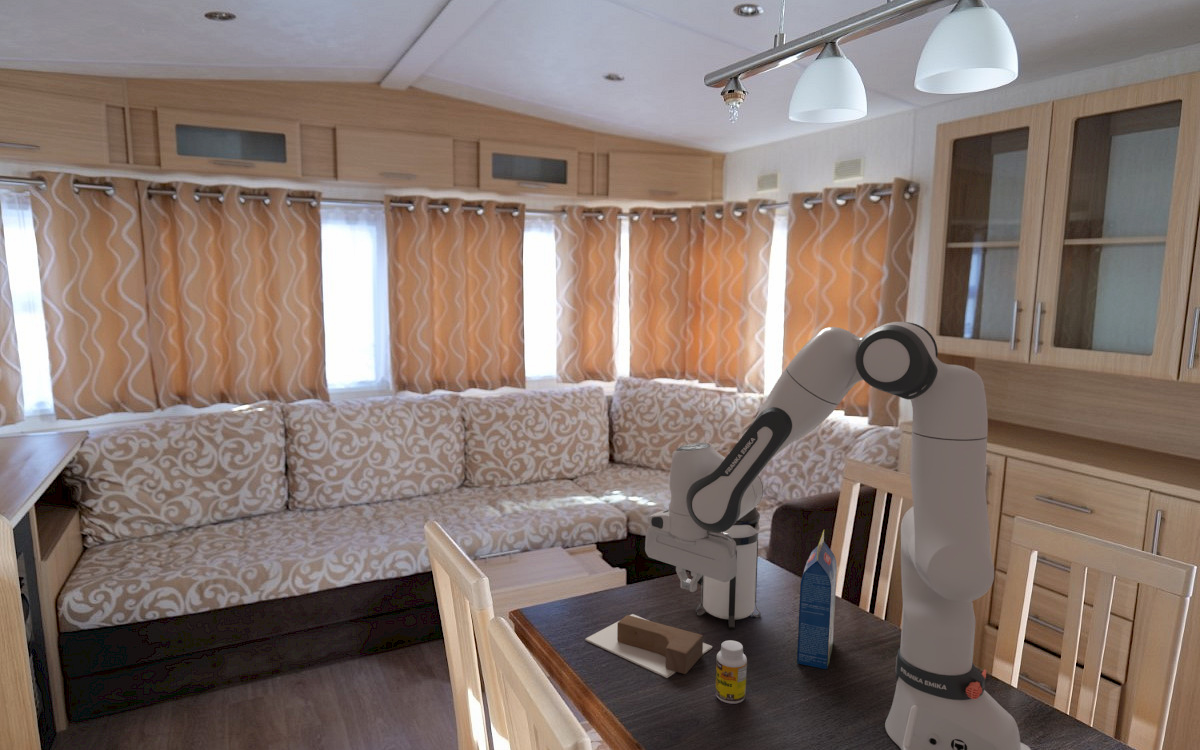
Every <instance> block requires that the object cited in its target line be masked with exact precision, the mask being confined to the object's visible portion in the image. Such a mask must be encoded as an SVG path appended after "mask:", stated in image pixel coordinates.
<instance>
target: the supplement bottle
mask: <svg viewBox="0 0 1200 750" xmlns="http://www.w3.org/2000/svg"><path fill="white" fill-rule="evenodd" d="M720 646H721V647H720V650H719V651H718V652H717V654H716V658H715V659H716V661H715V662H716V663H715V664H716V666H715V668H716V669H715V696H716V697H717V698H718V700H720V701H721V702H722V703H723V702H724V703H727V704H733V705H734V704H739V703H742V702H743V701H744V700H745V698H746V693H747V692H746V690H747V688H746V687H747V666H748V659H747V656H746V654H744V647H743V646H744V645H743V644H742V643H741V642H739V641H736V640H731V639H730V640H725V641H723V642H722V643H721V645H720Z"/></svg>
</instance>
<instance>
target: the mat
mask: <svg viewBox="0 0 1200 750" xmlns="http://www.w3.org/2000/svg"><path fill="white" fill-rule="evenodd" d="M629 615H630V616H633V617H637V618H641V619H644V620H648V621H650V620H649V619H645V618H644V617H641V616H639V615H636V614H634V613H632V614H629ZM619 621H620V620H618V621H616V622H614V623H613V624H610V625H608V626H607V627H605V628H603V629H601V630H599V631H597V632H595V633H593V634H591V635H589V636H587V637H586V638H585V639H584V640H585V641H586V642H588V643H590V644H592V645H594V646H597V647H599V648H601V649H603V650H606V651H608V652H610V653H612V654H613V655H616V656H618V657H620V658H623V659H625V660H626V661H629V662H631V663H634V664H635V665H637V666H640V667H641V668H644V669H646V670H648V671H651V672H653V673H655V674H656V675H659V676H662V677H664V678H666V679H668V678H669V677H671V676H672V675H674V674H676V673H677V672H676V671H673V670H669V669H667V668H666V657H665V656H663V655H661V654H658V653H655V652H651V651H648V650H645V649H641V648H638V647H634V646H631V645H628V644H624V643H621V642H618V641H617V626H618V622H619ZM711 649H713V646H712V645H710V644H708V643H705V642H703V654H702V656H703V655H704V654H706V653H707V652H709V651H710V650H711Z"/></svg>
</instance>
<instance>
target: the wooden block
mask: <svg viewBox="0 0 1200 750" xmlns="http://www.w3.org/2000/svg"><path fill="white" fill-rule="evenodd" d="M630 615H631V614H627V615H625V616H624V617H622V618H621V619H620V620H618V621H619V622H618V621H617V622H618V626H617V641H618V642H621V643H624V644H628V645H631V646H634V647H638V648H641V649H645V650H648V651H651V652H655V653H658V654H661V655H663V656H665V657H666V668H667V669H669V670H673V671H676V673H679V674H683V675H686V674H687V673H688V672H689V671H690V670H691V669H692V668H693V666H695V664H696V663H697V662H698V661H699V660H700V658H701V657H702V656H703V655H704V654H703V643H704V635H703V634H701V633H696V632H692V631H689V630H684V629H681V628H678V627H673V626H670V625H666V624H662V623H659V622H655V621H651V620H649V619H646V620H644V619H645V618H644V619H641V618H642V617H641V618H637V617H633V616H630ZM648 620H649V621H648ZM702 654H703V655H702Z"/></svg>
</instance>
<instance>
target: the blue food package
mask: <svg viewBox="0 0 1200 750" xmlns="http://www.w3.org/2000/svg"><path fill="white" fill-rule="evenodd" d="M824 539H825V530H823V531H822V533H821V537H820V539H819V542H818V544H817V546H816V547H815V548H814V549H812V551H811V553H810V555H809V557H808V559H807V560H806V564H805V566H804V569H803V573H802V576H801V580H800V587H799V606H798V607H799V609H798V630H797V631H798V632H797V651H796V653H797V654H796V655H797V656H796V663H797V664H800V665H804V666H808V667H813V668H818V669H824V670H827V669H828V666H829V665H830V659H831V656H832V651H833V643H834V631H835V629H834V627H835V613H836V612H835V608H836V592H837V591H836V590H837V571H838V570H837V569H838V568H837V567H838V565H837V559H836V557H835V554H834V553H833V551H832V550H831V549H830V547H829V546H828V545H827V544H826V542H825V540H824Z"/></svg>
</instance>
